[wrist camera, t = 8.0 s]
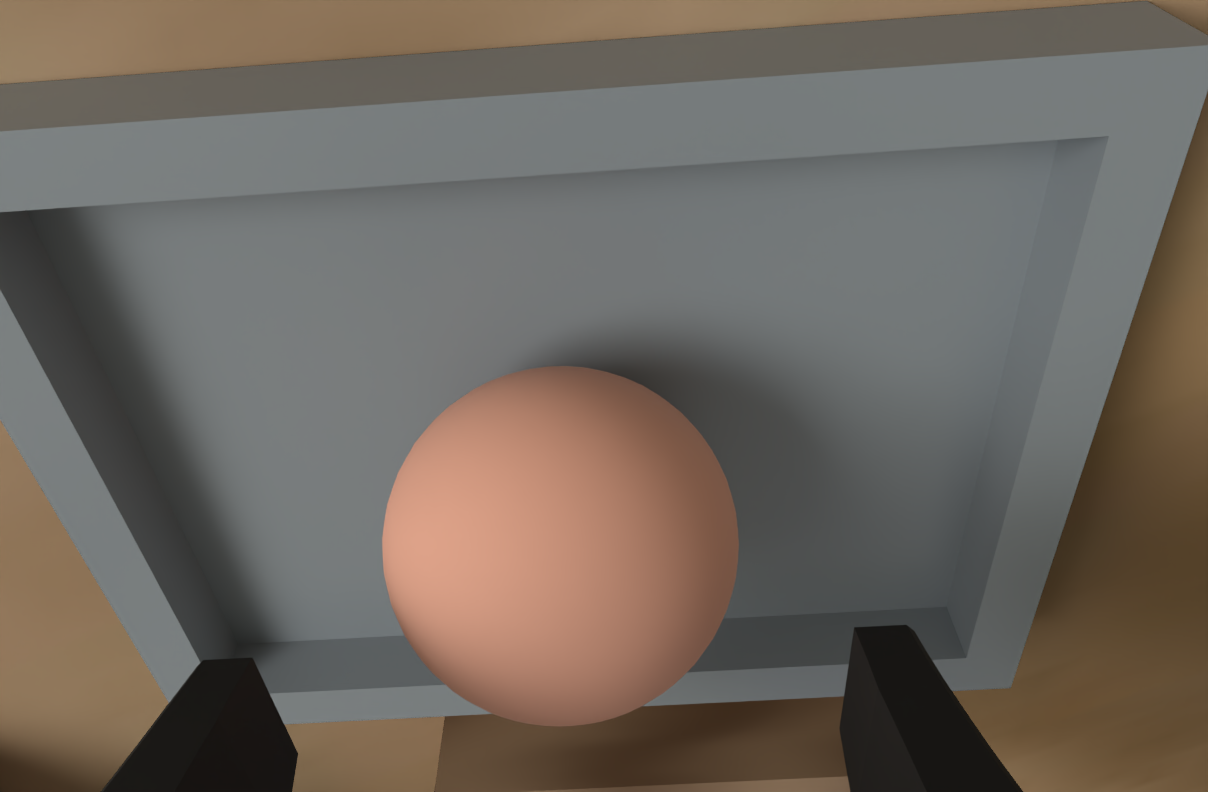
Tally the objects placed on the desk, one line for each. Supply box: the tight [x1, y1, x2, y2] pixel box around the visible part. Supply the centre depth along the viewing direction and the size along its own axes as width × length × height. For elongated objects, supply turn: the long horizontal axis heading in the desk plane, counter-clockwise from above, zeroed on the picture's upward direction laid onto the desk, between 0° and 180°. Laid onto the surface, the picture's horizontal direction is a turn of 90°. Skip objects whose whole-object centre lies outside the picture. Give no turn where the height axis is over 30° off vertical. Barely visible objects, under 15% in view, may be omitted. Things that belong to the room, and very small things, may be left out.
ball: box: [382, 366, 739, 727], centre depth 13 cm, size 5×5×5 cm
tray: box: [0, 1, 1208, 724], centre depth 15 cm, size 16×12×2 cm
